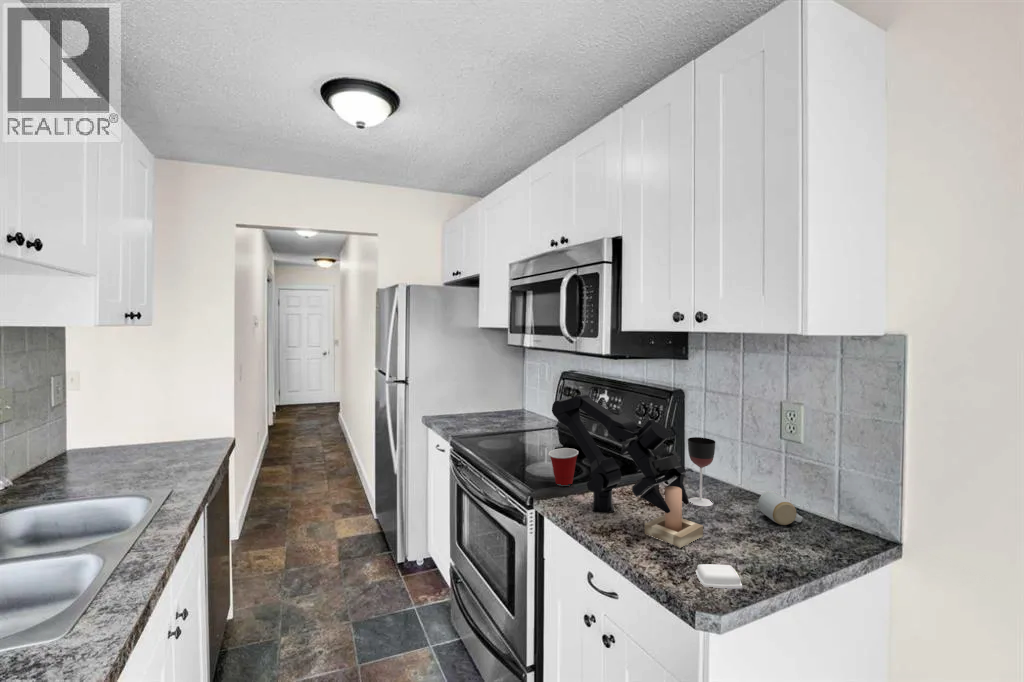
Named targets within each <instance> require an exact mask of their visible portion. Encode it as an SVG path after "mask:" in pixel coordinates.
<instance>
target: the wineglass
mask: <svg viewBox="0 0 1024 682" xmlns="http://www.w3.org/2000/svg"><path fill="white" fill-rule="evenodd" d="M687 448H688V449H687V450H688V456H689V458H690V461H691V462H692V463H693V464H694V465H695V466H697V467H698V468H699V497H690V498H688V500H689V503H690V502H691V503H690V504H692V503H693V504H692V505H694V506H697V507H698V506H699V507H710V506H713V505H714V502H713V501H712V500H711V499H708V498H703V468H705V467H708V466H710V465H711V464H712V462H713V460H714V458H715V451H716V441H715V440H714V439H711V438H708V437H701V436H700V437H699V436H698V437H697V436H695V437H694V436H693V437H689V438H687ZM710 500H711V501H712V502H713V503H712V502H711V501H710Z"/></svg>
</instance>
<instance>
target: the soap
mask: <svg viewBox="0 0 1024 682" xmlns="http://www.w3.org/2000/svg"><path fill="white" fill-rule="evenodd" d="M695 572H696V574H695V576H696V575H697V577H696V578H697V579H698V582H699V581H700V582H699V583H700V584H702V585H703V586H704V587H703V586H702V585H701V586H702V587H703V588H709V587H713V588H712V589H725V588H727V589H729V590H730V589H732V590H733V589H734V590H735V589H739V590H741V589H743V584H742V582H741V578H740V576H739V574H738V573H737V571H736V570H735V568H734V567H733V566H732V565H731V564H716V563H715V564H714V563H713V564H712V563H711V564H708V563H707V564H706V563H705V564H703V563H702V564H698V565H697V568H696V569H695ZM695 572H694V573H695ZM727 589H726V590H727Z"/></svg>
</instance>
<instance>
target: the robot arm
mask: <svg viewBox="0 0 1024 682" xmlns="http://www.w3.org/2000/svg"><path fill="white" fill-rule="evenodd" d="M551 407H552V408H551V413H552V414H553V416H554V417H555V419H556V420H557V421H558V422H560V423H561V424H562V425H563V426H566V427H567V429H568V430H569V432H570V433H571V435H572V437H573V438H574V441H576V443H577V445H578V446H579V448H580V449H581V451H582V452H583V454H584V456H585V458H586V459H587V461H588V462H589V465H590V475H591V476H592V477H591V479H589V480H588V481H587V482H586V485H587V489H588V491H591V492H593V501H592V502H591V508H592V512H593V513H594V512H597V513H598V512H599V513H615V508H614V505H613V489H617V488H618V485H619V483H620V482H621V479H622V471H621V470H620V469H621V466H619V465H618V464H617V462H616V460H615V458H614V457H613V456H611V457H609V458H608V457H606V456H605V455H604V454H603V452H602V451H601V449H600V447H599V446H598V445H597V443H596V441H595V440H594V438H593V437H592V435H591V434H590V432H589V430H588V429H587V427H586V426H585V424H584V423H583V421H582V420H581V411H582V412H584V413H585V414H587V415H588V416H589V417H591V418H592V419H594V420H595V421H596V422H598V423H599V424H600V425H602V426H603V427H604V428H605V429H606V431H607V433H608V435H609V436H610V437H611V438H613V439H614V440H615V441H616V442H618V443H623V442H628V441H629V442H628V443H625V444H622V445H621V452H620V455H625V454H628V455H629V456H630V457H631V459H632V461H633V462H634V463H635V465H636V466H637V467H636V468H635V470H636V472H641V474H642V475H643V477H642V478H640V479H639V480H638V481H637V482H636V483H634V484H633V485H632V486H631V487H632V488H631V489H632V490H631V492H632V493H633V495H634V496H635V497H636V498H637V497H639V498H640V499H643V500H644V501H646V502H648V503H651V504H652V505H653V506H655V507H657V508H658V509H660V510H661V511H662V512H664V513H665V512H666V513H669V512H670V509H669V507H668V505H667V504H666V502H665V498H664V496H662V494H661V493H660V484H663V483H664V484H666V485H667V486H676V487H679V488H681V489H682V504H684V505H688V504H689V503H690V502H689V498H688V495H687V492H686V488H685V486H684V479H685V477H686V473H687V470H685V468H684V467H683V466H682V465H681V463H680V462H681V460H682V457H681V456H680V455H679V453H677V451H676V450H675V451H674V450H673V451H671V452H668V453H667V456H666V457H661V456H660V455H659V454H656V455H654V453H653V452H652V451H654V450H656V449H657V448H658V447H660V445H662V444H663V443H664V442H665V441H666V440H667V439H669V437H670V436H669V434H670V433H669V431H668V429H667V428H666V427H665V426H663V425H662V424H661V423H659V422H657V421H656V420H655V419H654V418H652V419H651V418H650V419H648V421H646V423H645V424H644V425H643V426H641V425H639V424H637V423H636V422H635V421H634V420H632V419H629V418H627V417H625V416H620V415H616V414H615V413H613V412H612V411H611V410H609V409H607V408H606V407H604V406H603V405H602V404H600V403H599V402H597V401H595V400H594V399H592V398H591V397H590V395H588V394H578V395H576V396H573V397H571V398H567V399H566V398H565V399H560V400H555V401H554V402H553V403H552V406H551ZM580 410H581V411H580Z"/></svg>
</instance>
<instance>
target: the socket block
mask: <svg viewBox="0 0 1024 682" xmlns="http://www.w3.org/2000/svg"><path fill="white" fill-rule="evenodd" d="M645 534H648V535H650V536H653V537H655V538H658V539H661V540H663V541H666V542H668V543H671V544H673V545H675V546H678V547H680V548H681V547H683V546H685V545H687V544H689V543H691V542H692V543H694V542H696V541H698V540H700V539H702V538H703V537H704V525H702V524H699V523H697V522H695V521H690V520H687V519H685V518H682V530H681V531H679V532H676V531H673V530H671V529H668V528H665V514H663V515H660V516H659V517H656V518H654V519H652V520H650V521H648V522H646V523H644V535H645ZM650 536H649V537H650ZM655 538H654V539H655ZM699 538H700V539H699ZM697 539H698V540H697ZM695 540H696V541H695ZM693 541H694V542H693ZM692 543H691V544H692ZM689 545H690V544H689ZM675 546H674V547H675ZM687 546H688V545H687ZM685 547H686V546H685ZM680 548H679V549H680ZM683 548H684V547H683Z"/></svg>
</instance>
